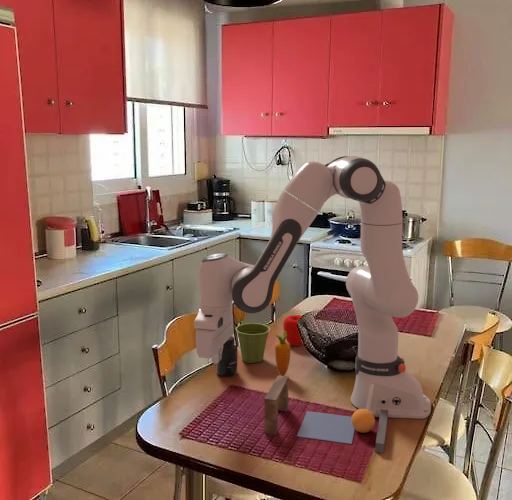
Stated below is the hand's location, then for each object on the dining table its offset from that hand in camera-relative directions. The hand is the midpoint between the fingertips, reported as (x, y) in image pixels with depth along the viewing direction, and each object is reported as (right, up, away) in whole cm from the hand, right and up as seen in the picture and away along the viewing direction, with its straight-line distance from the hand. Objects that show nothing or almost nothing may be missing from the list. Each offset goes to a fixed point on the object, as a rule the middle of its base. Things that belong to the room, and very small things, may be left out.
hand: (216, 361), depth 159 cm
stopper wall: (+43, -17, -9) cm, 47 cm away
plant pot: (+10, -7, +40) cm, 42 cm away
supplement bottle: (+1, -10, +29) cm, 31 cm away
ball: (+39, -14, -8) cm, 42 cm away
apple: (+25, -4, +54) cm, 60 cm away
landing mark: (+30, -16, -5) cm, 34 cm away
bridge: (+16, -16, -1) cm, 23 cm away
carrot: (+19, -10, +26) cm, 34 cm away
